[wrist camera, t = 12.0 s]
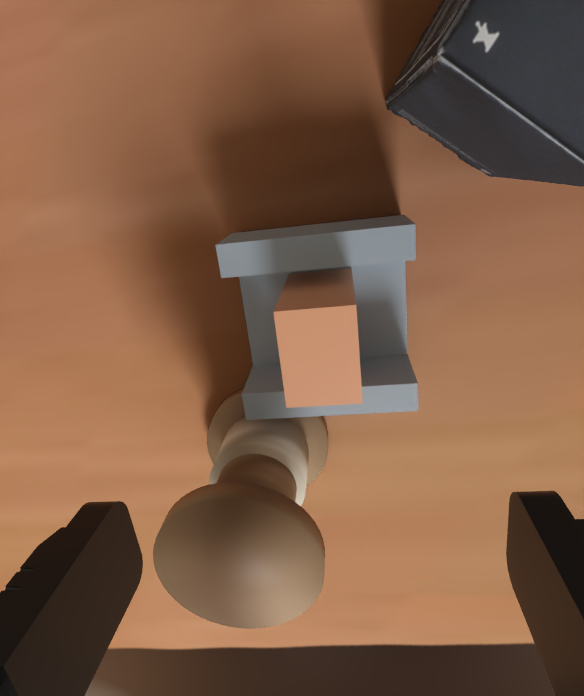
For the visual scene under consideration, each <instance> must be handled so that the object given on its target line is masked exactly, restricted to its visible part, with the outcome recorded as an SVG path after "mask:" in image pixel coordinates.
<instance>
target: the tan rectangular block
mask: <svg viewBox="0 0 584 696" xmlns="http://www.w3.org/2000/svg"><path fill="white" fill-rule="evenodd" d="M273 313H274V320H275V328H276V335H277V342H278V350H279V357H280V364H281V372H282V379H283V386H284V394H285V401H286V408H293V407H310V406H328V405H346V404H363V399H362V383H361V368H360V353H359V338H358V322H357V307H356V299H355V291H354V284H353V277H352V269H351V268H344V269H334V270H323V271H312V272H302V273H291V274H289V275H288V277H287V280H286V282H285V285H284V287H283V290H282V292H281V294H280V297H279V299H278V302H277V304H276V307H275V309H274V311H273Z"/></svg>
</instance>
